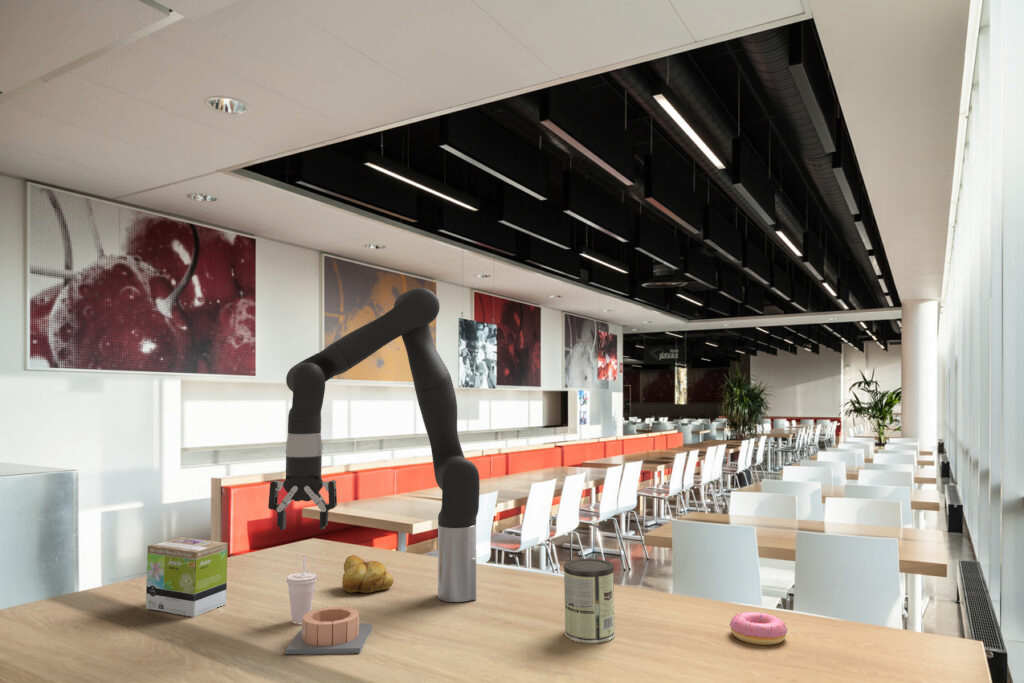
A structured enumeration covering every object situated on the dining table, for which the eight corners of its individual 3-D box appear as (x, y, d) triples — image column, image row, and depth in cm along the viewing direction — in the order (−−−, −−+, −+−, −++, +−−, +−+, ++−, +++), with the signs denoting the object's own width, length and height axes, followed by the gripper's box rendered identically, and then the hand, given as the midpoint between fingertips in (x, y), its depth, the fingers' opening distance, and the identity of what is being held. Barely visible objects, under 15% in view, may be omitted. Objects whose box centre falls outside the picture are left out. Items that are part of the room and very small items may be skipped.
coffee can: (571, 624, 150) (570, 556, 150) (619, 629, 146) (618, 560, 147) (558, 640, 140) (557, 568, 141) (609, 646, 136) (608, 572, 137)
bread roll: (396, 585, 180) (396, 553, 180) (387, 596, 170) (388, 562, 170) (346, 584, 180) (347, 552, 181) (335, 595, 171) (335, 562, 171)
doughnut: (718, 633, 144) (717, 612, 144) (760, 625, 148) (759, 605, 149) (756, 651, 134) (755, 629, 134) (800, 643, 138) (799, 621, 139)
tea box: (143, 610, 160) (145, 544, 161) (179, 598, 169) (181, 535, 170) (193, 618, 154) (195, 550, 155) (228, 605, 163) (229, 540, 164)
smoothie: (307, 627, 148) (308, 559, 149) (279, 625, 149) (280, 558, 150) (321, 617, 154) (322, 552, 155) (294, 615, 155) (295, 551, 156)
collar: (371, 628, 147) (372, 603, 148) (359, 653, 133) (360, 626, 134) (304, 629, 147) (304, 604, 147) (285, 654, 133) (285, 627, 133)
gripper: (340, 452, 158) (339, 525, 157) (276, 452, 158) (274, 525, 156) (333, 455, 151) (331, 532, 149) (265, 455, 150) (263, 532, 149)
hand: (302, 528), depth 153 cm, fingers open, 8 cm apart
